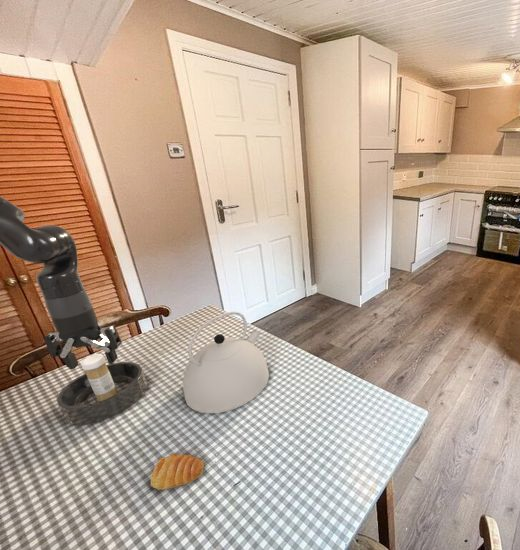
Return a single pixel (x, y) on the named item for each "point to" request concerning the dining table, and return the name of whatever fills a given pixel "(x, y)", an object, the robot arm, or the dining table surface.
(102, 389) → the sprinkles bottle
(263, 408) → the dining table surface
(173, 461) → the pastry
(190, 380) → the kettle
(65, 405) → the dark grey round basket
